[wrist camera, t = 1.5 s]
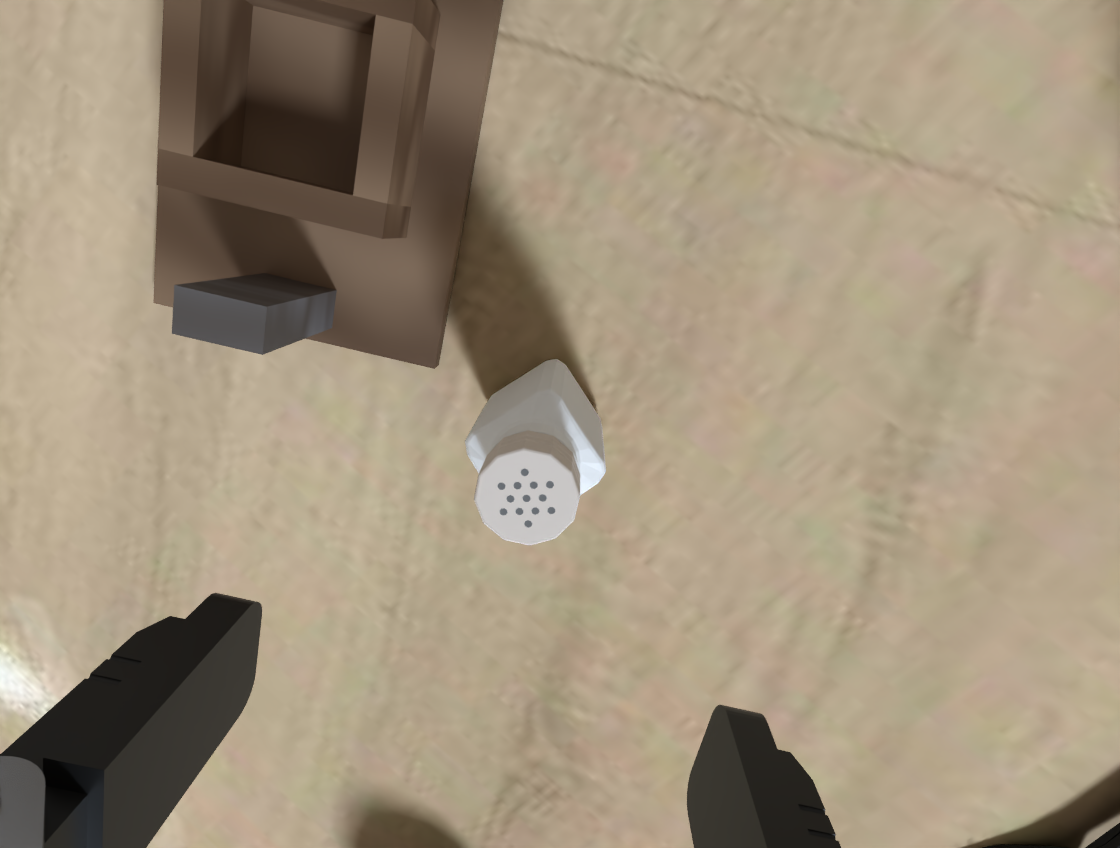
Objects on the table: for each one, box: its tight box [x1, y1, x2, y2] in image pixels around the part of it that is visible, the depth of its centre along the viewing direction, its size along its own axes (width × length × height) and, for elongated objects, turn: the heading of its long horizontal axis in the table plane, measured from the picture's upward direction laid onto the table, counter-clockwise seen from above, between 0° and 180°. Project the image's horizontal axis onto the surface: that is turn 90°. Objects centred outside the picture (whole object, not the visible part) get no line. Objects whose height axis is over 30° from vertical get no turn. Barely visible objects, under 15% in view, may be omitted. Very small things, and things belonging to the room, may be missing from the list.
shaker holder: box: [154, 0, 503, 369], centre depth 22 cm, size 18×12×7 cm, turn 167°
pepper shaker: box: [465, 359, 606, 545], centre depth 24 cm, size 4×4×10 cm
